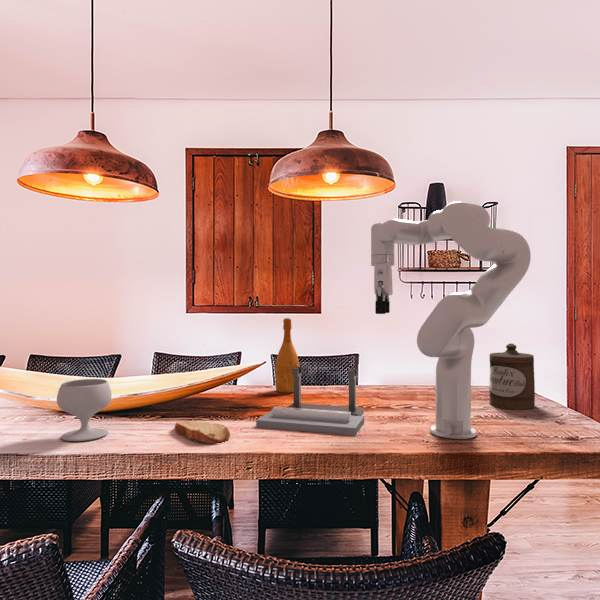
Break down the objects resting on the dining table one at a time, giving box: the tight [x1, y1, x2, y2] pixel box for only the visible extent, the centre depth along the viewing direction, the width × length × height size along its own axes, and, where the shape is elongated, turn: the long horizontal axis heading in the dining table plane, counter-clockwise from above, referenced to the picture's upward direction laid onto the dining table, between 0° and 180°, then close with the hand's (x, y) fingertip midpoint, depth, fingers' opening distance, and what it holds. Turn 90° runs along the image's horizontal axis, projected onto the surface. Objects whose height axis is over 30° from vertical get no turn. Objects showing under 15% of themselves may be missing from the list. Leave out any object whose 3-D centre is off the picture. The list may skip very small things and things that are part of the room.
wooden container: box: [488, 343, 536, 410], centre depth 174 cm, size 15×15×22 cm
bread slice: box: [173, 421, 231, 445], centre depth 137 cm, size 18×18×4 cm
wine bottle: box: [274, 317, 300, 394], centre depth 200 cm, size 10×10×30 cm
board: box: [255, 409, 365, 436], centre depth 147 cm, size 14×30×2 cm, turn 73°
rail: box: [272, 406, 351, 422], centre depth 147 cm, size 2×24×2 cm, turn 73°
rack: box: [287, 366, 365, 416], centre depth 163 cm, size 10×25×15 cm, turn 73°
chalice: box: [56, 378, 112, 442], centre depth 136 cm, size 14×14×15 cm
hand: (382, 313), depth 160 cm, fingers open, 9 cm apart
